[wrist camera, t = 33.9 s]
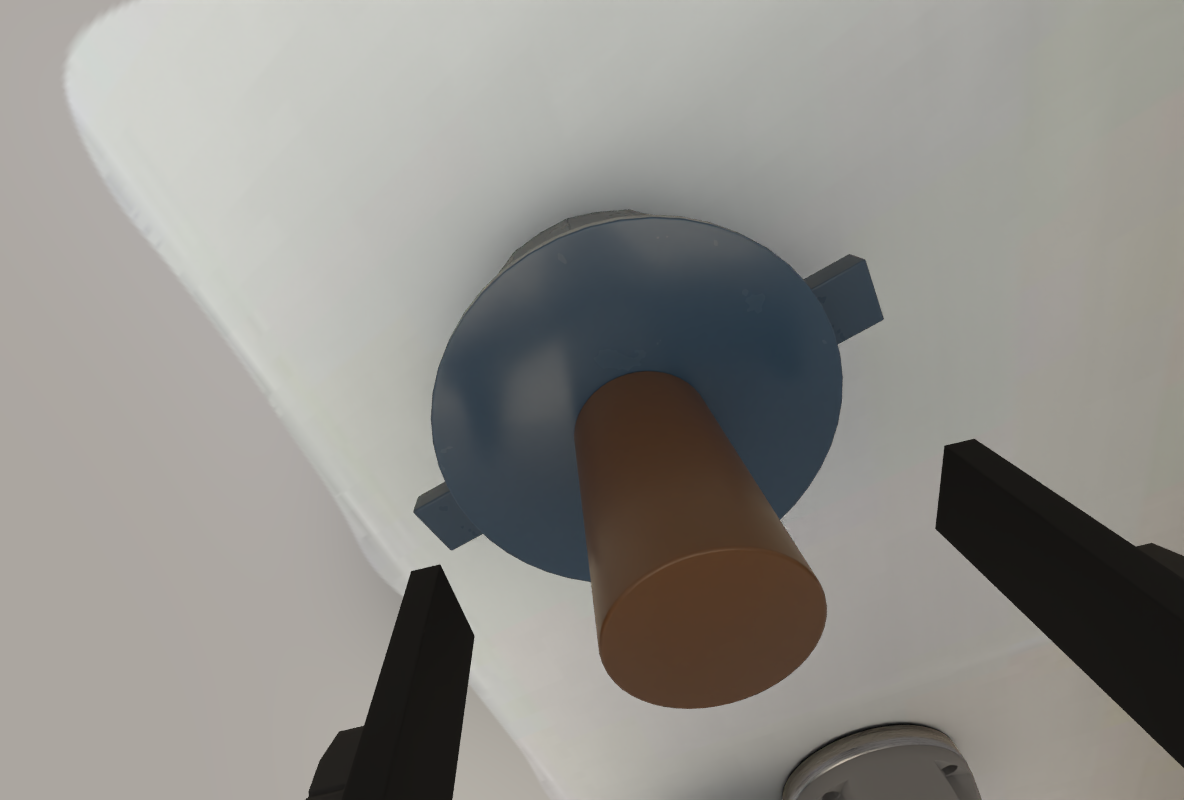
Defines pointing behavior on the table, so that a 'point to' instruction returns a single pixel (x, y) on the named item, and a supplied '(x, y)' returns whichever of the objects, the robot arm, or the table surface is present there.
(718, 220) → the table surface
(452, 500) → the tin
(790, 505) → the tin lid
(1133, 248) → the table surface
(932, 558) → the table surface
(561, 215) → the table surface
